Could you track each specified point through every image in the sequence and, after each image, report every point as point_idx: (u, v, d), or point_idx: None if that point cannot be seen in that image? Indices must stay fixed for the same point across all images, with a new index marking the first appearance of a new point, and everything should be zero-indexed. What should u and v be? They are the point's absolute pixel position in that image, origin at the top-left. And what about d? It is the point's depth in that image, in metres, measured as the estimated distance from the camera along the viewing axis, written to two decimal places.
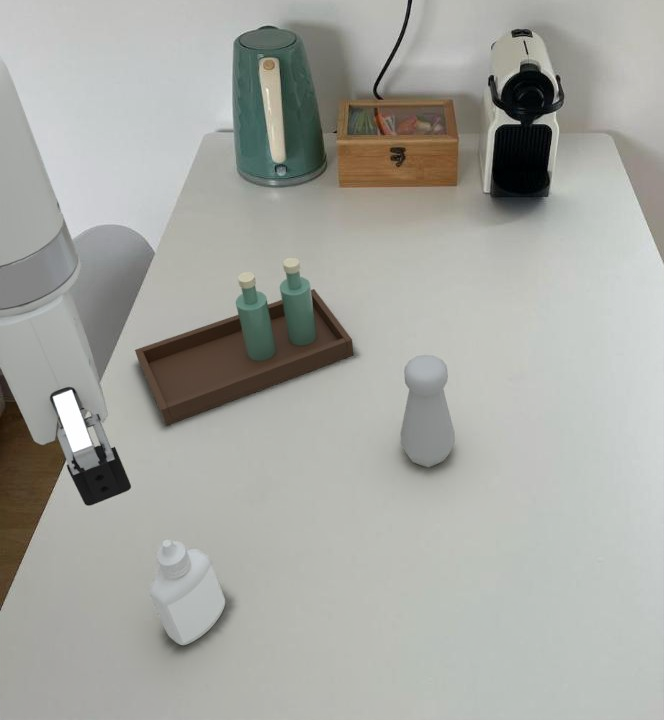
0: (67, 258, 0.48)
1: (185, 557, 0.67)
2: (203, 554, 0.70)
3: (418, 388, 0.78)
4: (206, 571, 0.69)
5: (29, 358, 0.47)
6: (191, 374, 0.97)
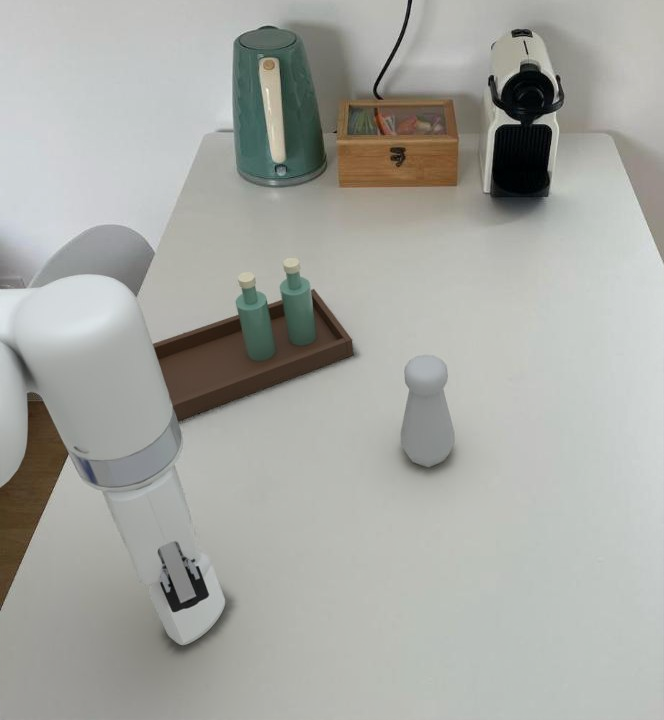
0: (175, 438, 0.57)
1: None
2: (203, 554, 0.70)
3: (418, 388, 0.78)
4: (206, 571, 0.69)
5: (144, 523, 0.56)
6: (191, 374, 0.97)
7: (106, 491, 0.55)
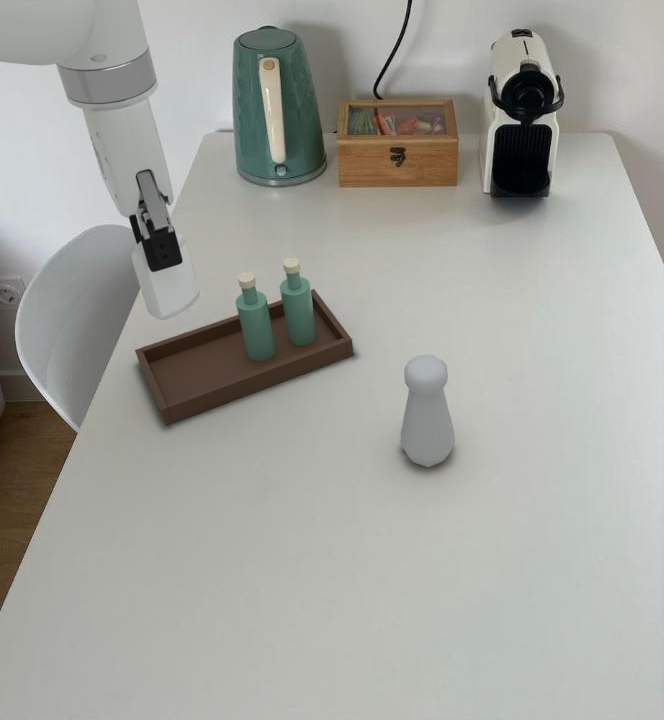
0: (150, 72, 0.67)
1: None
2: (179, 233, 0.81)
3: (418, 388, 0.78)
4: (181, 246, 0.80)
5: (124, 141, 0.67)
6: (191, 374, 0.97)
7: (92, 109, 0.66)
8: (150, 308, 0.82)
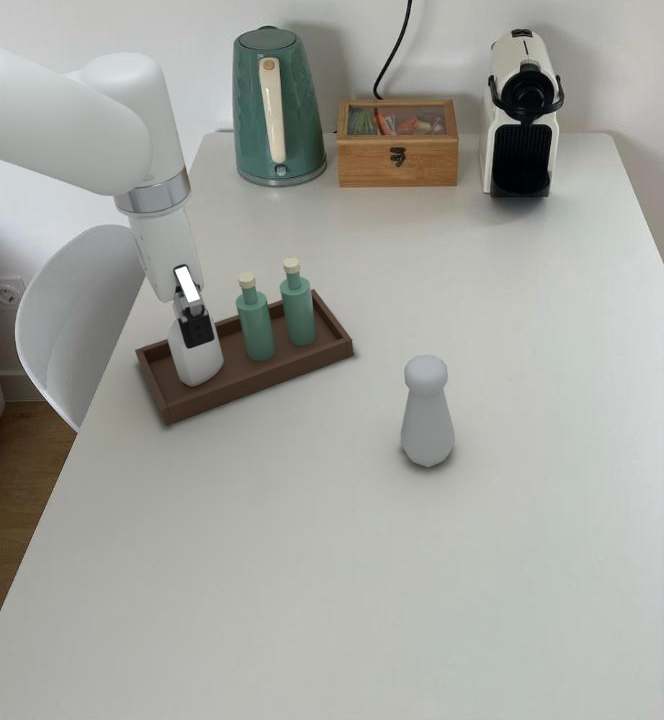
0: (186, 184, 0.80)
1: None
2: None
3: (418, 388, 0.78)
4: None
5: (164, 243, 0.79)
6: None
7: (137, 217, 0.78)
8: (182, 377, 0.95)
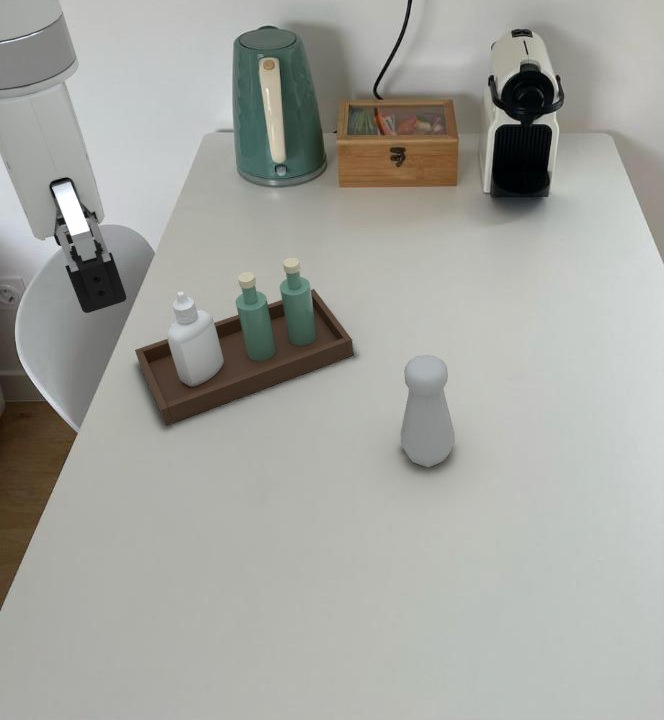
0: (65, 48, 0.51)
1: (194, 307, 0.90)
2: (207, 313, 0.93)
3: (418, 388, 0.78)
4: (209, 324, 0.93)
5: (29, 140, 0.50)
6: None
7: None
8: (182, 377, 0.95)
